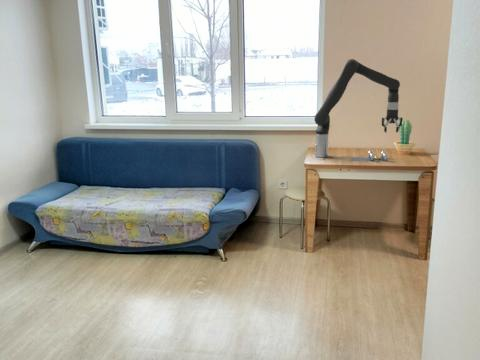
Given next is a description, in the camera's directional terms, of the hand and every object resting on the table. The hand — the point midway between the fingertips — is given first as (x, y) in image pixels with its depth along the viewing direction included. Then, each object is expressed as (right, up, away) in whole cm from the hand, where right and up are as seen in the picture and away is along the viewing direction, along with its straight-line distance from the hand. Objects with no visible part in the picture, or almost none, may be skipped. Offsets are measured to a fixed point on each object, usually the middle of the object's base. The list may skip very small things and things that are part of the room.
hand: (391, 132), depth 312 cm
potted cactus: (+18, -13, +26) cm, 34 cm away
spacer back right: (-2, -18, +9) cm, 20 cm away
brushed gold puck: (-8, -19, +6) cm, 21 cm away
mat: (-14, -19, +7) cm, 25 cm away
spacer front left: (-13, -20, +3) cm, 24 cm away
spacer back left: (-11, -18, +11) cm, 24 cm away
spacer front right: (-4, -20, +1) cm, 20 cm away
